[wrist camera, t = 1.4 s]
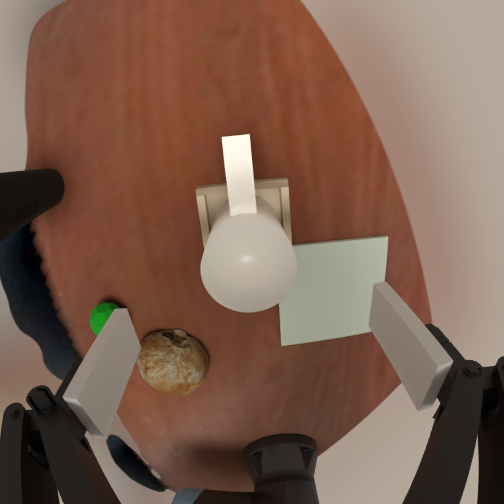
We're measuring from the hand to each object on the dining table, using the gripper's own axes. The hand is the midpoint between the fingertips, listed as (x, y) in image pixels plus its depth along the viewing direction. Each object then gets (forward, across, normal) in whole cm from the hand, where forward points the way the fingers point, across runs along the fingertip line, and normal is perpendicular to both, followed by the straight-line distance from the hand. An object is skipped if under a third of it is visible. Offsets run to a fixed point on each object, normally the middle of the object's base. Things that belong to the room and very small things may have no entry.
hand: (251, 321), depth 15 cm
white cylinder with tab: (+18, 0, -3) cm, 18 cm away
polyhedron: (+19, +19, +10) cm, 29 cm away
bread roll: (+19, +12, +18) cm, 29 cm away
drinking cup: (+19, +24, -8) cm, 32 cm away
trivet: (+19, -10, +10) cm, 23 cm away
